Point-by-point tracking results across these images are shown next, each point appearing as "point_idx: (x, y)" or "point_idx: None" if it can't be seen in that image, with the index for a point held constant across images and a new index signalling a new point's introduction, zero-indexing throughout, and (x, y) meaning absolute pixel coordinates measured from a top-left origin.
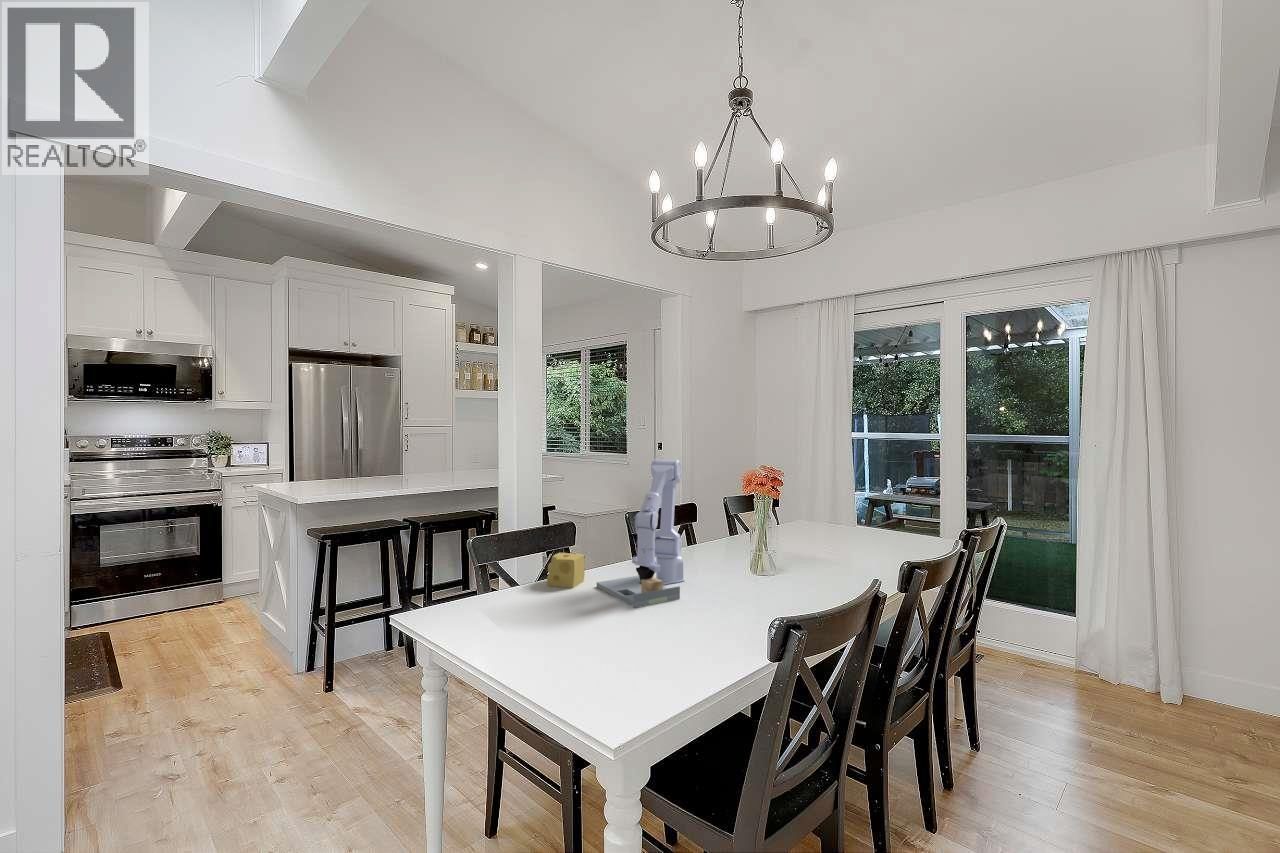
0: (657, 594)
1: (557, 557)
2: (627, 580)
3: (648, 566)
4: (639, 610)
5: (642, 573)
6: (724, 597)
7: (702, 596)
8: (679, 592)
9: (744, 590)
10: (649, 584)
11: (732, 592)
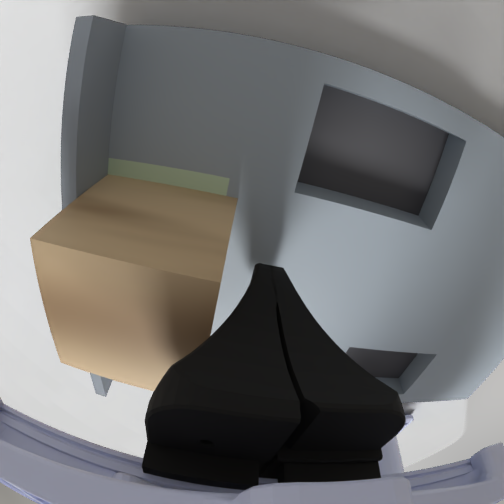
0: None
1: None
2: (490, 338)
3: (35, 466)
4: (72, 26)
5: (204, 363)
6: (74, 412)
7: (108, 399)
8: None
9: None
10: (41, 232)
11: (109, 443)
